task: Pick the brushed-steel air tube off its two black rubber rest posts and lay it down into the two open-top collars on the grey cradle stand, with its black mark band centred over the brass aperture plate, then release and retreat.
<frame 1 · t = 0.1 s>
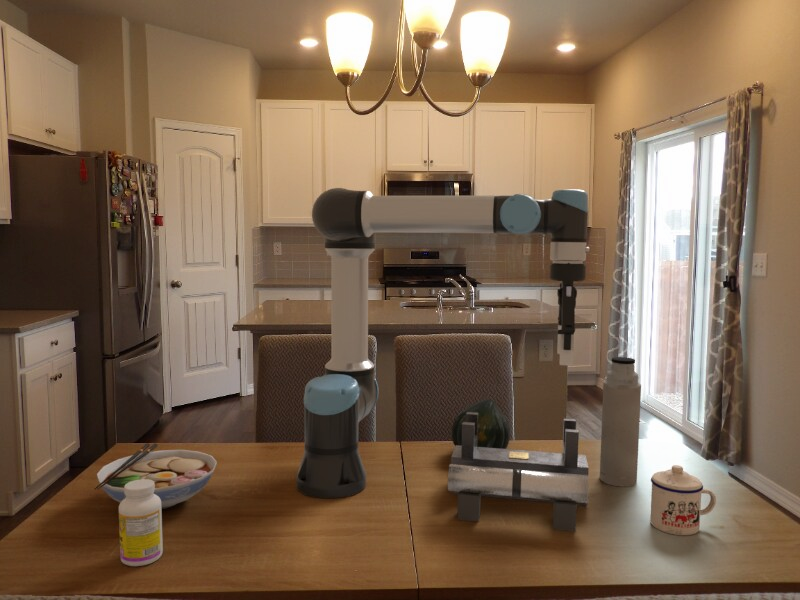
hand: (564, 359, 141), 28 cm above the table, tool pointing down, fingers open, 13 cm apart
supplement bottle: (141, 559, 108), on the table
ramen bowl: (159, 503, 130), on the table
rest posts: (515, 520, 124), on the table
air tube: (516, 495, 123), point 5 cm above the table, touching rest posts
grey cradle stand: (517, 492, 138), on the table
teacup with lid: (682, 527, 122), on the table
thermos bottle: (617, 480, 145), on the table
squash: (479, 455, 162), on the table
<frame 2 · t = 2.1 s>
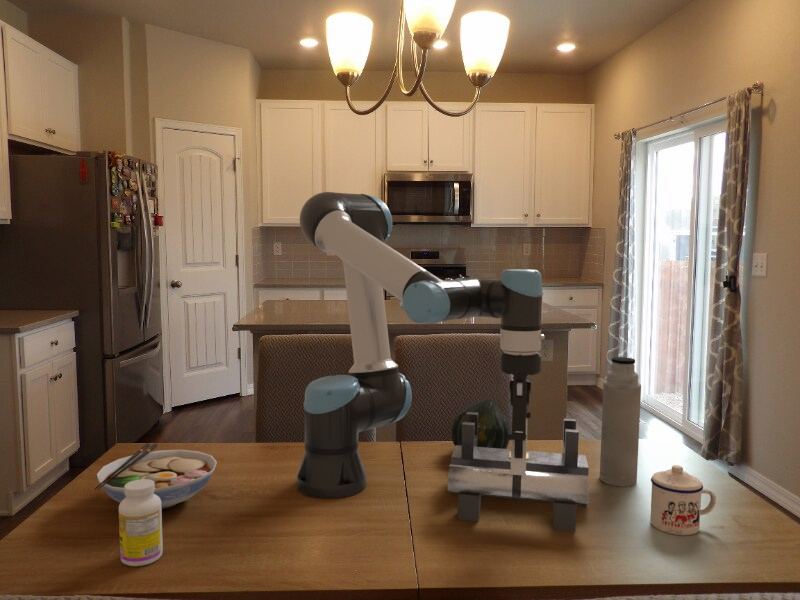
hand: (519, 462, 122), 12 cm above the table, tool pointing down, fingers open, 13 cm apart
air tube: (516, 495, 123), point 5 cm above the table, tilted 6°, touching rest posts
everything else where it was.
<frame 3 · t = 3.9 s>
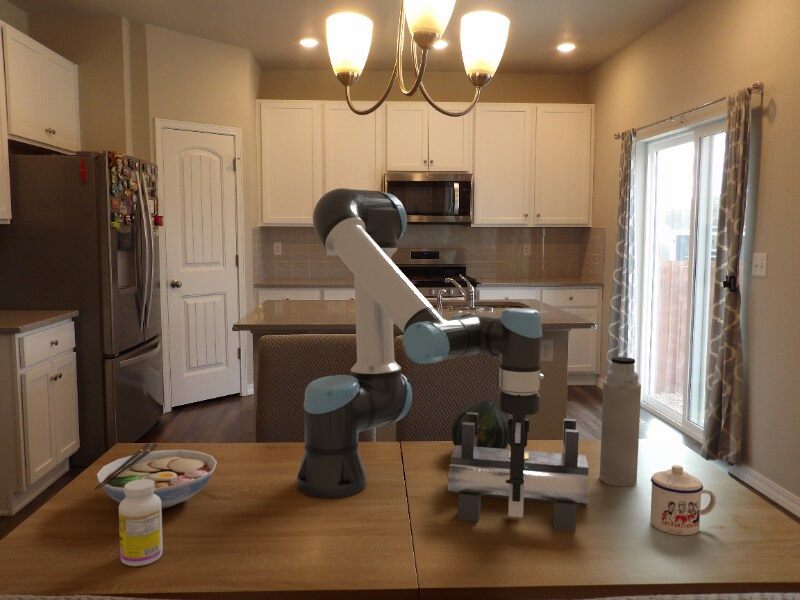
hand: (516, 509, 123), 2 cm above the table, tool pointing down, fingers closed on air tube, 5 cm apart
air tube: (516, 495, 123), point 5 cm above the table, touching gripper, rest posts
everything else where it was.
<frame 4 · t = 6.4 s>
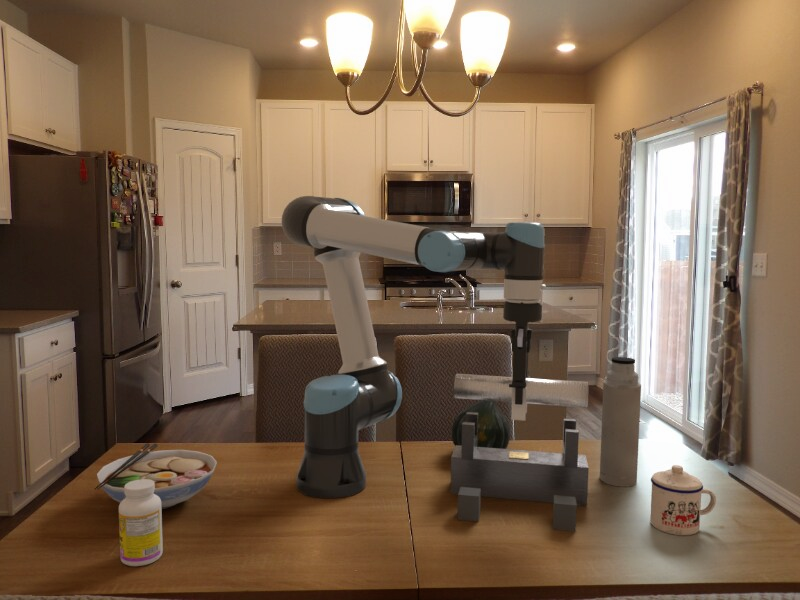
hand: (519, 415, 129), 19 cm above the table, tool pointing down, fingers closed on air tube, 5 cm apart
air tube: (519, 402, 129), point 21 cm above the table, touching gripper
everything else where it was.
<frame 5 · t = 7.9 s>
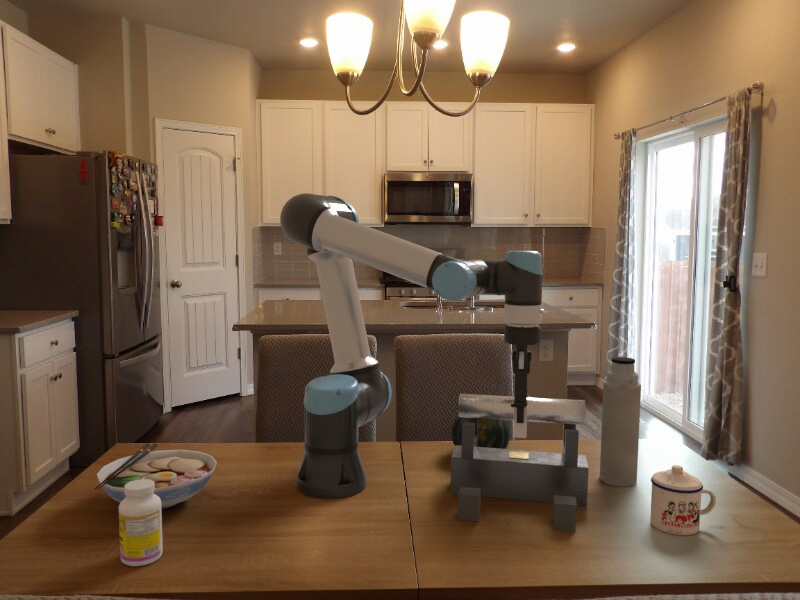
hand: (520, 432, 136), 13 cm above the table, tool pointing down, fingers closed on air tube, 5 cm apart
air tube: (520, 420, 136), point 16 cm above the table, touching gripper
everything else where it was.
when the fingers open (10 cm above the table, at t = 9.2 s): air tube drops 1 cm, resting on grey cradle stand.
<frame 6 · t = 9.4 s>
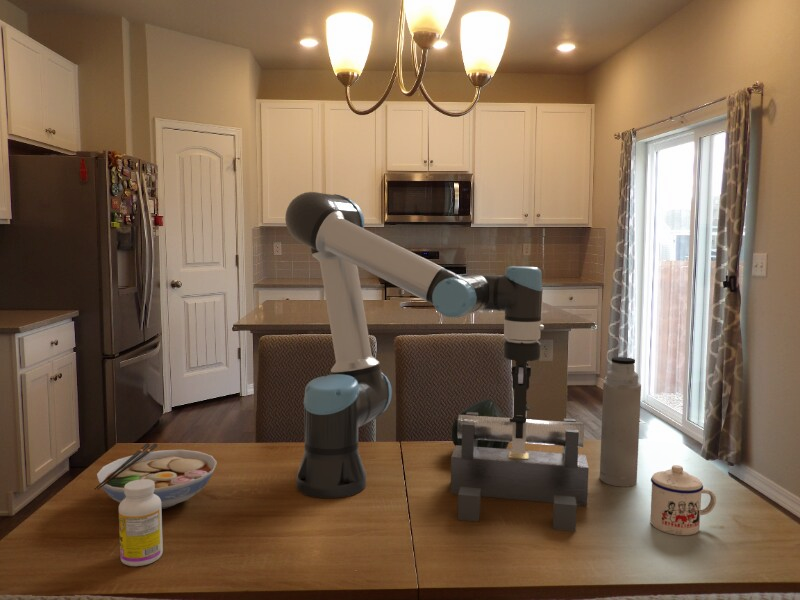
hand: (519, 446, 137), 10 cm above the table, tool pointing down, fingers open, 8 cm apart
air tube: (519, 442, 137), point 11 cm above the table, touching grey cradle stand
everything else where it was.
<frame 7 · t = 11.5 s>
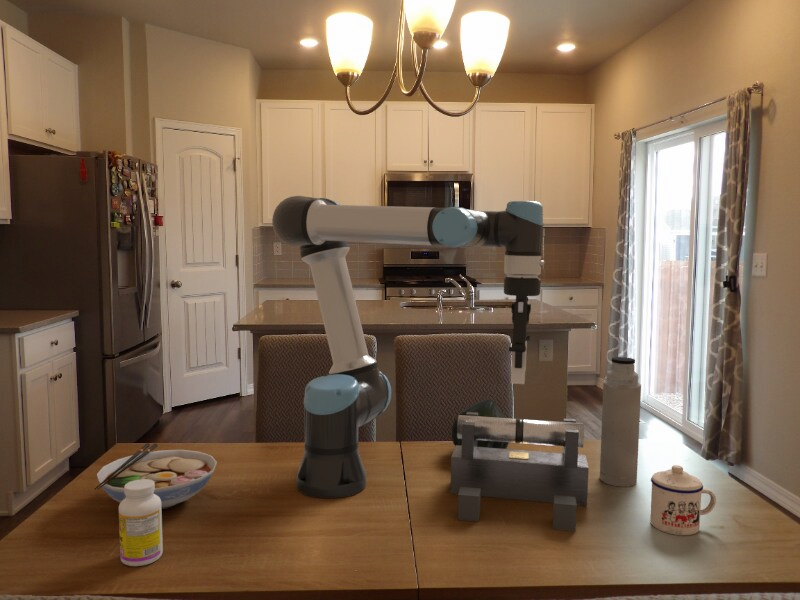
hand: (518, 376, 136), 25 cm above the table, tool pointing down, fingers open, 13 cm apart
nothing on the table moved.
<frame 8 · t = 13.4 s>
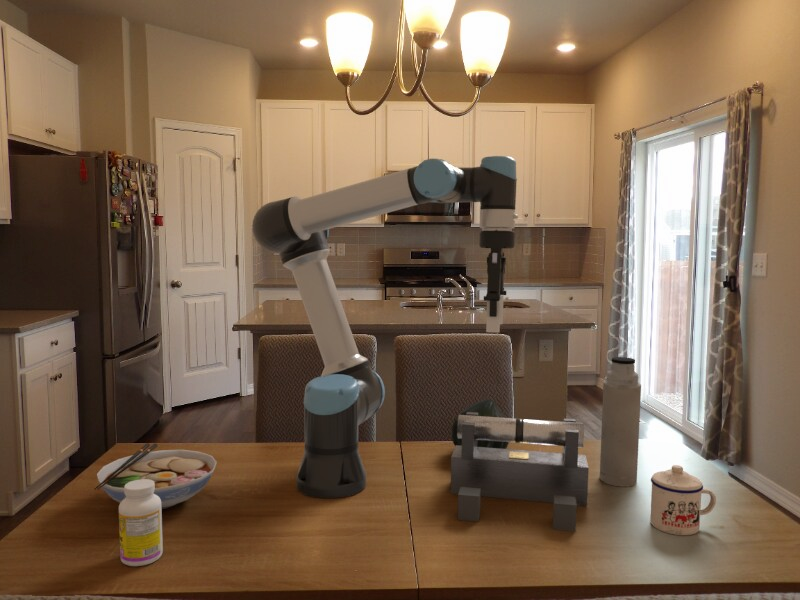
hand: (494, 328, 140), 35 cm above the table, tool pointing down, fingers open, 13 cm apart
nothing on the table moved.
at the end: air tube 0.0 cm from the target spot, point 11.0 cm above the table; air tube tilted 1°; the gripper is holding nothing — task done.
